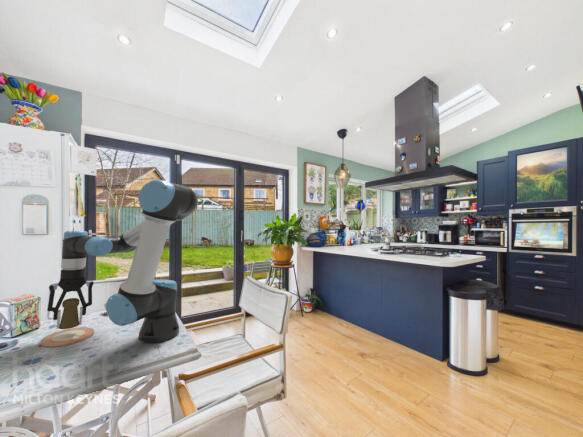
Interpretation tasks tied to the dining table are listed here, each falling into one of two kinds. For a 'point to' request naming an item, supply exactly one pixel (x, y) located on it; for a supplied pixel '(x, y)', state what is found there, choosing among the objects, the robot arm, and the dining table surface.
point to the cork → (70, 314)
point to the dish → (67, 337)
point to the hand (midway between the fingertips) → (69, 325)
